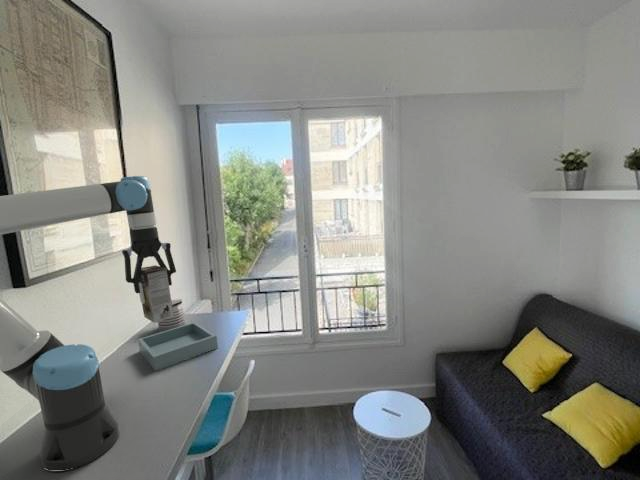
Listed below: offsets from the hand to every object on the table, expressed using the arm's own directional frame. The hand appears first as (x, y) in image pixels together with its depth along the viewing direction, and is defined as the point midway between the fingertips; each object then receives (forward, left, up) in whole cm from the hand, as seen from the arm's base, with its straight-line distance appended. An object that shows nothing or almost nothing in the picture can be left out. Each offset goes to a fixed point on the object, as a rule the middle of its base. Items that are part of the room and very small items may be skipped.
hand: (155, 298), depth 110 cm
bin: (+9, +16, -26) cm, 32 cm away
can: (+15, +43, -26) cm, 53 cm away
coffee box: (0, 0, -6) cm, 6 cm away
